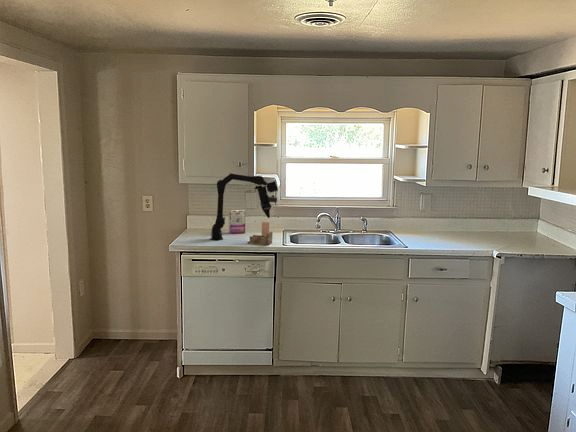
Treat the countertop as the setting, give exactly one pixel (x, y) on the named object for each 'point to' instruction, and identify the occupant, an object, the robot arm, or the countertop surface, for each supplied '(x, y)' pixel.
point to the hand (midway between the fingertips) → (268, 216)
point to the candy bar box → (236, 221)
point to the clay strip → (265, 228)
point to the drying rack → (261, 239)
